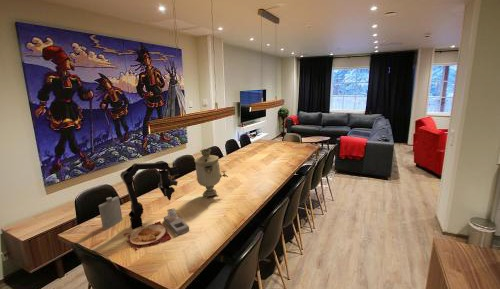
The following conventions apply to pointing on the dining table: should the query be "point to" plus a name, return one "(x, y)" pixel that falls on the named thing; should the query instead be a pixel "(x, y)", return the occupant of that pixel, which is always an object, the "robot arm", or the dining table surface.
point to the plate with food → (148, 235)
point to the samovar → (208, 172)
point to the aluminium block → (172, 214)
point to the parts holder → (177, 225)
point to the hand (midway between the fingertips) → (167, 198)
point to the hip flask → (110, 212)
